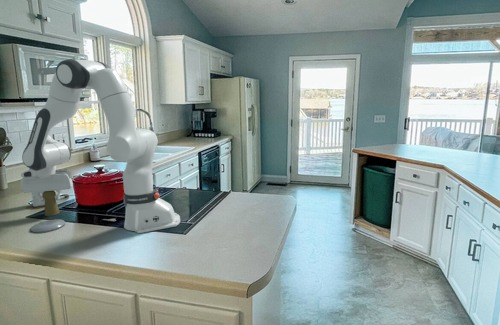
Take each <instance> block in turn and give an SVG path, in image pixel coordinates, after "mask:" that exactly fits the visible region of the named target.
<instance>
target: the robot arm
mask: <svg viewBox="0 0 500 325" xmlns="http://www.w3.org/2000/svg"><path fill="white" fill-rule="evenodd" d="M52 76H53V77H52V80H51V82H50V86H49V91H48V96H47V100H46V102H45V104H44V105H43V106H42V108H41V109H40V110H39V111H38V112H37V114H36V116H35V119H34V122H33V126H32V129H31V131H30V135H29V138H28V142H27V144H26V147H25V148H24V150H23V152H22V155H21V160H22V163H23V165H24V166H26V167H27V168H28V169H27V170H26V169H25V170H24V171H22V172H21V173H20V175H21V179H20V190H21V192H23V193H24V194H29V193H31V194H32V192H35V193H36V195H37V196H38V197H39V199H40V201H44V200H45V199H44V198H43V196H42V195H41V194H40V193H41V192H42V191H55V192H56V196H55V200H56V201H58V200H60V199H61V196H60V195H61V193H62V191H63V190H71V189H72V188H73V187H74V183H73V179H72V176H73V175H72V171H70V170H69V169H66V168H64V169H57V166H58V165H63V164H65V163H68V162H69V161H70V160H71V157H72V153H71V148H70V147H69V145H68V144H66V143H65V142H61V141H57V140H55V139H53V138H52V137H51V135H49V133H50V131H51V129H52V128H54V127H55V126H56V125H58V124H60V123H62V122H64V121H66V120H69V119H71V118H73V117H74V116H75V115H76V114H77V112H78V110H79V107H80V102H81V95H82V92H83V90H93V91H94V92H95V93H96V95H97V98H98V101H99V103H100V105H101V108H102V110H103V112H104V115H105V118H106V121H107V124H108V134H109V137H108V141H107V143H106V151H107V154H108V155H109V157H110V158H111V159H112V160H114V161H116V162H126V166H125V169H124V171H122V179H123V180H122V181H123V190H124V192H123V203H124V207H125V217H124V219H125V220H124V224H123V228H124V229H125V230H126V231H132V232H135V233H137V234H142V233H148V232H152V231H158V230H164V229H170V228H174V227H177V226H178V225H180V223H181V216H180V214H178V213H177V212H175V210H174V208H173V206H172V204H171V203H170V202H168V201H166V200H164V199H162V198H160V193H159V190H158V189H154V185H153V163H154V156H155V151H156V148H157V147H158V143H159V140H158V137H157V134H156V132H154V131H153V130H150V129H148V128H147V129H145V128H138V129H137V126H136V122H135V120H136V118H135V117H136V115H137V110H136V108H135V106H134V105H135V104H134V103H133V100H132V97H131V96H130V93H129V91H128V89H127V86H126V84H125V83H124V81H123V79H122V78H121V76H120V74H119V73H118V72H117V70H115V69H114V68H111V67H110V66H109V65H108V64H106V63H104V62H101V61H96V60H95V61H94V60H90V59H89V60H88V59H81V58H80V59H72V58H71V59H64V60H61V61H59V63H58V64H57V66H56V68H55V73H54V74H53V75H52Z"/></svg>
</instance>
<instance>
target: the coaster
mask: <svg viewBox="0 0 500 325" xmlns="http://www.w3.org/2000/svg"><path fill="white" fill-rule="evenodd" d="M65 225H66V221H65V220H63V219H59V218H57V219H48V220H44V221H41V222H38V223H35V224H33V225H32V226H31V227H30V231H31V232H32V233H34V234H35V233H36V234H39V233H40V234H41V233H42V234H43V232H44V233H49V232H53V231H56V230H59V229H61V228H63V227H64V226H65Z"/></svg>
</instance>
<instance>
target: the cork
mask: <svg viewBox="0 0 500 325" xmlns="http://www.w3.org/2000/svg"><path fill="white" fill-rule="evenodd" d="M42 195H43V198H44V199H45V205H44V217H51V216H52V217H53V216H56V215H58V214H60V213H61V212H60V209H59V206H58V202H57V200H55V196H56V195H57V192H56V190H54V191H45V192H43V194H42Z"/></svg>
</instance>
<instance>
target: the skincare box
mask: <svg viewBox="0 0 500 325" xmlns="http://www.w3.org/2000/svg"><path fill="white" fill-rule="evenodd" d="M43 192H45V191H42V192H41V193H40V194H41V195H42V194H43ZM42 196H43V195H42ZM31 200H32V206H33V207H41V206H45V200H44V201H40V199H39V197H38V196H37V195H36V193H35V192H31Z"/></svg>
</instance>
